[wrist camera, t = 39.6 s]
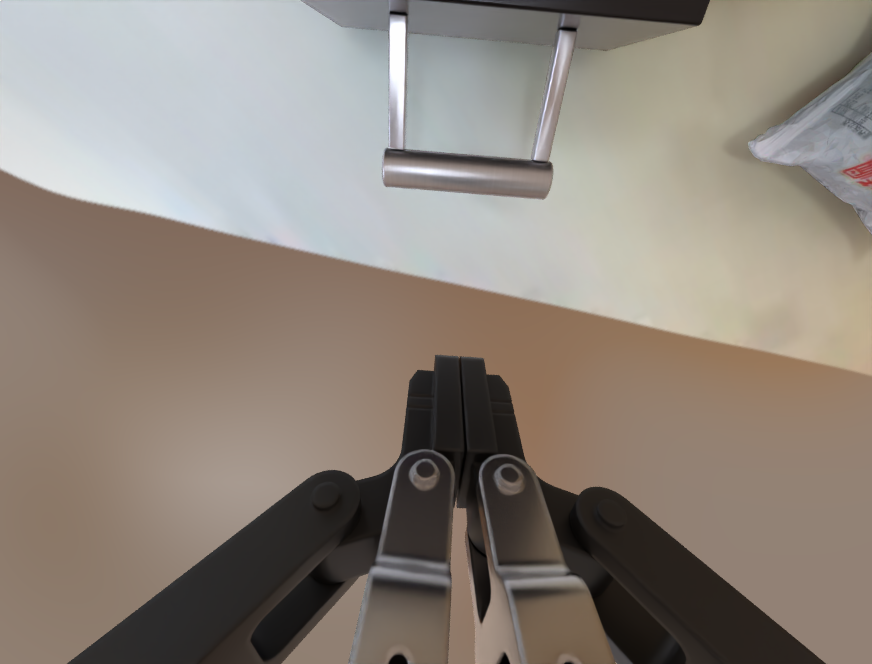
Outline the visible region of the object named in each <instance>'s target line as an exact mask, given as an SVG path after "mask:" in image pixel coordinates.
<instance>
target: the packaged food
mask: <svg viewBox="0 0 872 664" xmlns="http://www.w3.org/2000/svg"><path fill="white" fill-rule="evenodd" d="M748 146H749V150H750V151H751V152H752V154H753V155H754V157H756V158H758V159H759V160H760V161H764V162H770V163H776V164H782V165H786V166H796V165H798V166H801V167H802V168H803V169H804V170H805V171H807V172H808V173H809V174H810V175H811V176H812V177H814V178H815V179H816V180H817V181H818V182H819V183H821V184H822V185H823V186H824V187H825V188H827V189H828V190H829V191H830V192H832V193H833V194H834V195H835V196H837V197H838V198H839V199H841V200H842V201H843V202H846V203H849V204H851V205H852V206H853V208H854V209H855V211H856V213H857V214H858V216H859V218H860V219H861V221H862V223H863V224H864V225H865V227H866V228H867V229H868V230H869V232H870V233H871V234H872V51H871V52H870V53H869V55H868V56H867V57H865V58H864V59H863V60H862V61H860V62H859V63H858V64H857V65H856V66H855V67H854V68H853V69H852V70H851V71H850V72H849V73H848V74H847V75H846V76H845V77H843V78H842V79H841V80H840V81H838V82H836V83H835V84H833V85H832V86H830V87H829V88H828V89H827V90H825V91H824V92H823V93H821V94H820V95H819V96H818V97H816V98H815V99H814V100H812V101H811V102H810V103H808V104H807V105H806V106H804V107H803V108H801V109H800V110H799V111H797V112H796V113H795V114H794V115H792V116H791V117H790V118H789V119H788V120H786V121H785V122H783V123H782V124H779V125H776V126H773V127H770V128H768V130H767V131H766V132H765V133H764V134H760V135H758V136H757V137H756V139H754V140H752V141H750V142H749V143H748Z"/></svg>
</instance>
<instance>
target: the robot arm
mask: <svg viewBox="0 0 872 664" xmlns="http://www.w3.org/2000/svg"><path fill="white" fill-rule="evenodd" d="M456 500H457V508H466V512H467V527H466V532H465V545H466V553H467V562H468V570H469V578H470V586H471V594H472V603H473V611H474V619H475V663H476V664H616V663H617V664H826V663H824V662H823V661H822V660H821V659H819V658H818V657H817V656H816V655H815V654H814V653H812V652H811V651H810V650H809V649H807V648H806V647H805V646H804V645H803V644H801V643H800V642H799V641H798V640H797V639H795V638H794V637H793V636H792V635H791V634H789V633H788V632H787V631H786V630H784V629H783V628H782V627H781V626H780V625H778V624H777V623H776V622H775V621H774V620H772V619H771V618H770V617H769V616H767V615H766V614H765V613H764V612H763V611H761V610H760V609H759V608H758V607H757V606H755V605H754V604H753V603H752V602H751V601H749V600H748V599H747V598H746V597H744V596H743V595H742V594H741V593H739V592H738V591H737V590H736V589H735V588H733V587H732V586H731V585H730V584H729V583H727V582H726V581H725V580H724V579H723V578H721V577H720V576H719V575H718V574H717V573H715V572H714V571H713V570H712V569H710V568H709V567H708V566H707V565H706V564H704V563H703V562H702V561H701V560H700V559H698V558H697V557H696V556H695V555H693V554H692V553H691V552H690V551H688V550H687V549H686V548H685V547H684V546H683V545H681V544H680V543H679V542H678V541H676V540H675V539H674V538H673V537H671V536H670V535H669V534H668V533H667V532H666V531H664V530H663V529H662V528H661V527H659V526H658V525H657V524H656V523H655V522H653V521H652V520H651V519H650V518H649V517H647V516H646V515H645V514H644V513H643V512H641V511H640V510H639V509H638V508H636V507H635V506H634V505H633V504H631V503H630V502H629V501H628V500H627V499H625V498H624V497H623V496H621V495H620V494H618V493H616V492H614V491H612V490H610V489H607V488H602V487H590V488H587V489H585V490H584V491H582V492H581V494H580V495H576V494H573V493H571V492H568V491H565V490H562V489H559V488H557V487H554V486H552V485H550V484H548V483H546V482H544V481H543V480H541V479H540V478H539V477H538V476H537V475H536V474H535V472H534V470H533V469H532V468H531V467H530V466H529V465H528V464H527V462H526V460H525V457H524V453H523V449H522V444H521V440H520V435H519V432H518V427H517V422H516V418H515V415H514V409H513V404H512V400H511V396H510V391H509V387H508V386H507V385H506V383H505V382H504V381H503V379H502V378H501V377H500V376H499V375H486V370H485V363H484V359H483V358H476V357H475V358H474V357H460V358H459V357H458V356H444V355H435V364H434V371H424V370H417V372H416V373H415V374H414V376H413V377H412V379H411V380H410V382H409V390H408V399H407V408H406V416H405V425H404V434H403V442H402V450H401V454H400V456H399V458H398V460H397V462H396V463H395V464H394V465H393V466H392V467H391V468H390V469H388V470H387V471H385V472H383V473H382V474H379V475H377V476H373V477H369V478H365V479H361V480H357V481H355V480H354V478H353V477H352V476H350V475H349V474H347V473H345V472H342V471H337V470H328V471H323V472H320V473H317V474H315V475H313V476H311V477H310V478H308V479H307V480H305V481H304V482H303V483H302V484H300V485H299V486H297V487H296V488H295V489H294V490H292V491H291V492H290V493H289V494H287V495H286V496H285V497H283V498H282V499H281V500H279V501H278V502H277V503H275V504H274V505H273V506H271V507H270V508H269V509H268V510H266V511H265V512H264V513H262V514H261V515H260V516H258V517H257V518H256V519H255V520H254V521H252V522H251V523H250V524H248V525H247V526H246V527H244V528H243V529H242V530H240V531H239V532H238V533H236V534H235V535H234V536H232V537H231V538H230V539H229V540H227V541H226V542H225V543H223V544H222V545H221V546H220V547H218V548H217V549H216V550H214V551H213V552H212V553H210V554H209V555H208V556H206V557H205V558H204V559H203V560H201V561H200V562H199V563H197V564H196V565H195V566H193V567H192V568H191V569H190V570H188V571H187V572H186V573H184V574H183V575H182V576H181V577H179V578H178V579H177V580H175V581H174V582H173V583H171V584H170V585H169V586H168V587H166V588H165V589H164V590H162V591H161V592H160V593H158V594H157V595H156V596H154V597H153V598H152V599H151V600H149V601H148V602H147V603H146V604H144V605H143V606H141V607H140V608H139V609H138V610H136V611H135V612H134V613H132V614H131V615H130V616H128V617H127V618H126V619H125V620H123V621H122V622H121V623H119V624H118V625H117V626H115V627H114V628H113V629H112V630H110V631H109V632H108V633H106V634H105V635H104V636H103V637H101V638H100V639H99V640H97V641H96V642H95V643H93V644H92V645H91V646H89V647H88V648H87V649H86V650H84V651H83V652H82V653H80V654H79V655H78V656H77V657H75V658H74V659H73V660H71V661H70V662H69V663H68V664H281V663H282V662H283V661H284V660H285V659H286V658H287V657H288V655H289V654H290V653H291V652H292V651H293V650H294V649H295V648H296V647H297V646H298V644H299V643H300V642H301V641H302V640H303V639H304V638H305V637H306V635H307V634H308V633H309V632H310V631H311V630H312V629H313V628H314V627H315V626H316V624H317V623H318V622H319V621H320V620H321V619H322V618H323V617H324V616H325V615H326V613H327V612H328V611H329V610H330V609H331V608H332V607H333V606H334V605H335V603H336V602H337V601H338V600H339V599H340V598H341V597H342V596H343V595H344V594H345V592H346V591H347V590H348V589H349V588H350V587H351V586H352V585H353V584H354V582H355V581H356V580H357V579H358V577H359V576H362V575H365V574H368V573H369V575H368V579H367V583H366V587H365V591H364V596H363V600H362V605H361V609H360V614H359V618H358V623H357V627H356V632H355V636H354V641H353V645H352V650H351V654H350V658H349V663H348V664H448V650H449V631H450V608H451V583H452V582H451V572H450V560H451V541H452V522H453V508H454V506H455V501H456ZM615 662H616V663H615Z"/></svg>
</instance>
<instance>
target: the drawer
mask: <svg viewBox="0 0 872 664" xmlns="http://www.w3.org/2000/svg"><path fill="white" fill-rule="evenodd" d="M301 1H302V2H304V3H305V4H307V5H308V6H310V7H312V8H313V9H315V10H316V11H318V12H319V13H321V14H322V15H324V16H326V17H327V18H329V19H330V20H332V21H333V22H335V23H336V24H338V25H340V26H341V27H349V28H360V29H371V30H382V31H389V148H385V150H384V153H383V161H382V177H383V183H384V186H386V187H396V188H408V189H421V190H433V191H445V192H457V193H469V194H482V195H494V196H506V197H518V198H530V199H545V198H546V197H547V195H548V193H549V191H550V188H551V184H552V179H553V165H552V163H551V162H550V161H549V157H550V153H551V148H552V144H553V140H554V135H555V131H556V126H557V122H558V117H559V113H560V109H561V104H562V100H563V95H564V91H565V86H566V82H567V78H568V73H569V69H570V64H571V60H572V55H573V51H574V48H581V49H592V50H603V51H607V50H611V49H615V48H618V47H622V46H626V45H629V44H633V43H637V42H640V41H644V40H648V39H652V38H655V37H659V36H663V35H666V34H670V33H674V32H677V31H681V30H685V29H688V28H692V27H696V26H699V25H700V24H701V23H702V20H703V18H704V15H705V12H706V10H707V7H708V4H709V1H710V0H301ZM408 33H415V34H426V35H437V36H448V37H459V38H470V39H481V40H492V41H503V42H514V43H525V44H536V45H547V46H553V49H552V54H551V59H550V64H549V69H548V74H547V79H546V84H545V89H544V94H543V99H542V104H541V109H540V114H539V119H538V124H537V129H536V134H535V139H534V144H533V149H532V154H531V159H532V160H527V159H515V158H503V157H491V156H479V155H467V154H455V153H444V152H432V151H420V150H408V149H405V148H406V118H407V75H408Z"/></svg>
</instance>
